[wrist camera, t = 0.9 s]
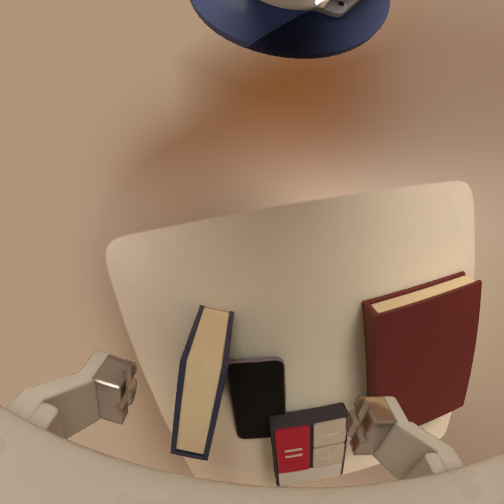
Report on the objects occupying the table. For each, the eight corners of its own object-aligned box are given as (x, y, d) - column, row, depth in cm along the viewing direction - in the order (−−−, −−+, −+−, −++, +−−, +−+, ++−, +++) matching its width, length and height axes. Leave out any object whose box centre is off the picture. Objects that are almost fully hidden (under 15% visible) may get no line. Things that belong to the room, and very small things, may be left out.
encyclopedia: (361, 301, 36) (374, 316, 31) (462, 271, 35) (481, 280, 31) (366, 422, 41) (375, 441, 36) (450, 390, 40) (463, 405, 36)
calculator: (351, 416, 36) (343, 477, 39) (342, 399, 40) (337, 461, 43) (271, 431, 35) (277, 490, 38) (268, 411, 40) (274, 472, 42)
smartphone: (237, 439, 40) (224, 363, 36) (237, 434, 41) (225, 358, 37) (286, 436, 40) (284, 359, 36) (285, 431, 41) (283, 354, 37)
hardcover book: (187, 389, 39) (170, 453, 27) (200, 304, 36) (180, 360, 24) (216, 395, 39) (207, 461, 27) (233, 311, 36) (227, 370, 24)
